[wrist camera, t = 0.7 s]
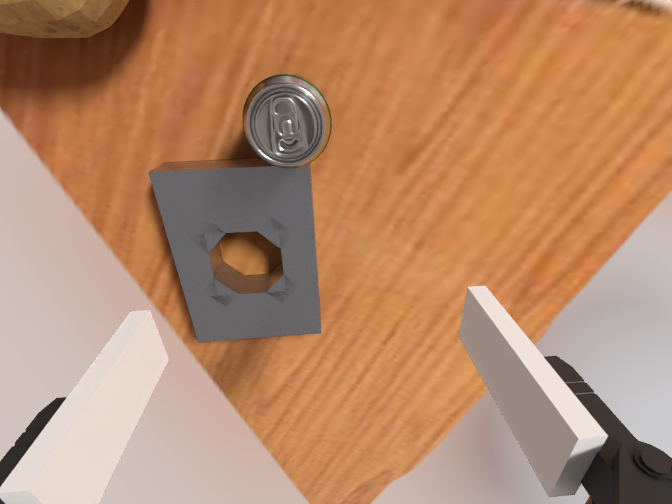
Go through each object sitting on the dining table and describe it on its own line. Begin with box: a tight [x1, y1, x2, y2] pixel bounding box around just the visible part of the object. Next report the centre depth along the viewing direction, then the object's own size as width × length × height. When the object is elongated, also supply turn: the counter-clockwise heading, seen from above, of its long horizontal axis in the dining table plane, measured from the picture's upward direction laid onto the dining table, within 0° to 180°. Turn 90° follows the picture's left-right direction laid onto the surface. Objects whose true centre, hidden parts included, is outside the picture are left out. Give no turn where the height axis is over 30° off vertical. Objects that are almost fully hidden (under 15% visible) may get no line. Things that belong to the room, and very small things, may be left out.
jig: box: [148, 158, 321, 342], centre depth 33 cm, size 18×13×4 cm
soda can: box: [243, 74, 332, 169], centre depth 23 cm, size 5×5×12 cm
